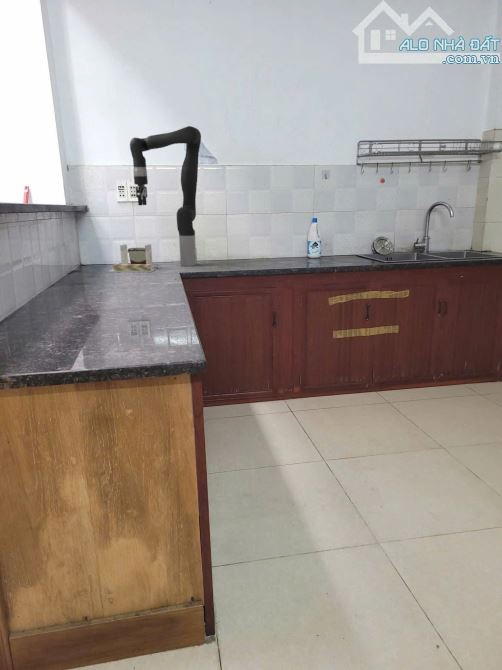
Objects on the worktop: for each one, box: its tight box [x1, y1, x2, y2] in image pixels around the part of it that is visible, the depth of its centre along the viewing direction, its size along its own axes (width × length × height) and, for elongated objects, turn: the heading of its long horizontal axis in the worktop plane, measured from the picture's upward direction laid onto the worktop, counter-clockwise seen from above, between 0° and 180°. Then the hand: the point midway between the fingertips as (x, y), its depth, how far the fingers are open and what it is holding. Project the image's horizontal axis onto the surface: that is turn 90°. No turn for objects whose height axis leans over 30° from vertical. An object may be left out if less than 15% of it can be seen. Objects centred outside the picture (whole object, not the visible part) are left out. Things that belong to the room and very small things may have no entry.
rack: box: [119, 243, 157, 269], centre depth 266 cm, size 20×7×13 cm, turn 87°
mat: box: [107, 268, 156, 273], centre depth 259 cm, size 24×8×1 cm, turn 87°
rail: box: [112, 263, 151, 271], centre depth 258 cm, size 20×3×3 cm, turn 86°
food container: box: [127, 247, 146, 264], centre depth 278 cm, size 12×6×10 cm, turn 84°
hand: (142, 205), depth 274 cm, fingers open, 8 cm apart
